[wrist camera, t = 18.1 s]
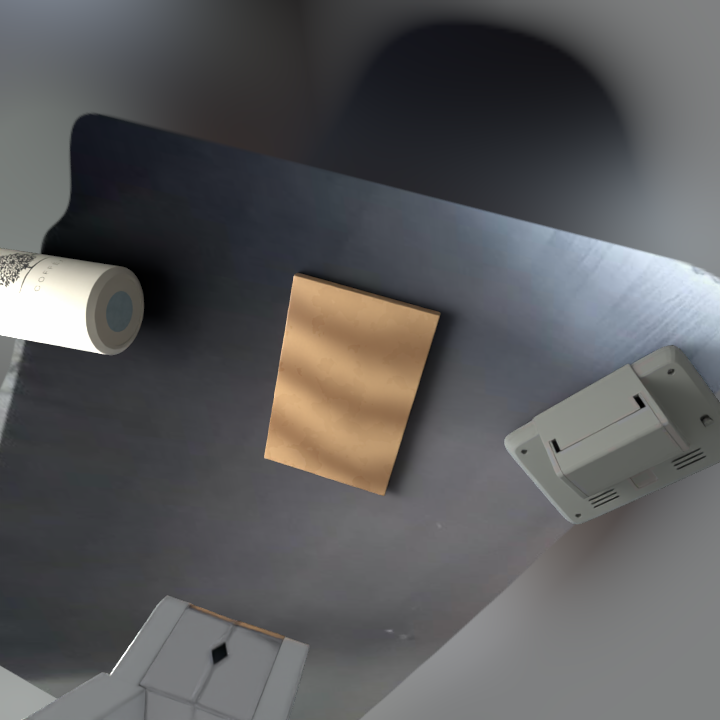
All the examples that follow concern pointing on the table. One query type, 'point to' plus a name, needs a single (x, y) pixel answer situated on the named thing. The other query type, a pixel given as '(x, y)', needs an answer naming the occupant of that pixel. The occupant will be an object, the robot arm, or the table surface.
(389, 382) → the wooden board
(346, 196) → the table surface
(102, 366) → the table surface
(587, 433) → the digital clock
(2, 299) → the travel mug
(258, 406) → the table surface
